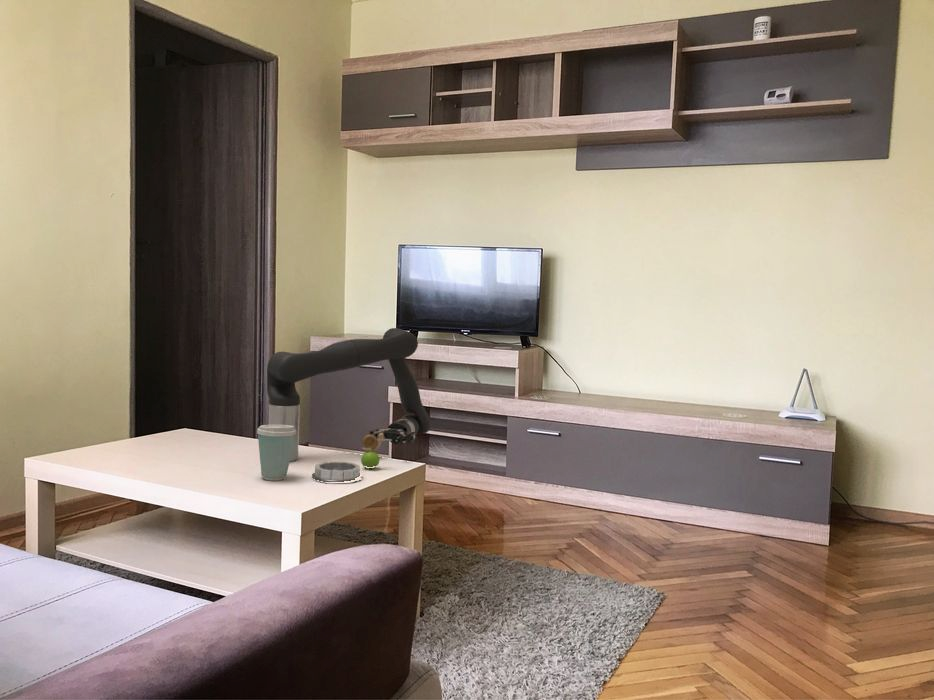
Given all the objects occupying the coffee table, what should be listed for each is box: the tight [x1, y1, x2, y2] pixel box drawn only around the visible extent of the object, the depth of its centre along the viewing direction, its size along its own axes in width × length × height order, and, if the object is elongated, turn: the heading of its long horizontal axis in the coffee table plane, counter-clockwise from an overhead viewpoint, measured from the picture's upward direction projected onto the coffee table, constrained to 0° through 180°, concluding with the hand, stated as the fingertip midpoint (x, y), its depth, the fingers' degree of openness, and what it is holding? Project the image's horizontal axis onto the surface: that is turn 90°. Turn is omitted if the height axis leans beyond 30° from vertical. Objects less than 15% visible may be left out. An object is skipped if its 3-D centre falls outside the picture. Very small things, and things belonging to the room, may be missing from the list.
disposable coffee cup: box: [256, 424, 296, 481], centre depth 207 cm, size 11×11×15 cm
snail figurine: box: [360, 428, 384, 467], centre depth 225 cm, size 5×6×12 cm
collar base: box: [311, 461, 361, 482], centre depth 212 cm, size 14×14×3 cm
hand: (385, 439), depth 235 cm, fingers open, 8 cm apart
